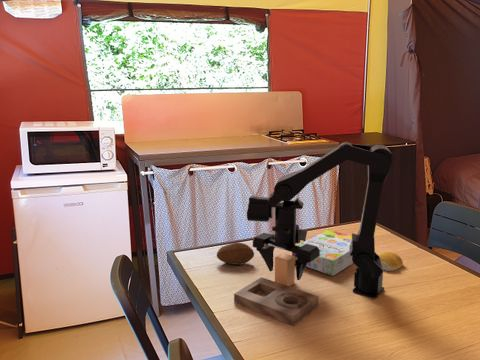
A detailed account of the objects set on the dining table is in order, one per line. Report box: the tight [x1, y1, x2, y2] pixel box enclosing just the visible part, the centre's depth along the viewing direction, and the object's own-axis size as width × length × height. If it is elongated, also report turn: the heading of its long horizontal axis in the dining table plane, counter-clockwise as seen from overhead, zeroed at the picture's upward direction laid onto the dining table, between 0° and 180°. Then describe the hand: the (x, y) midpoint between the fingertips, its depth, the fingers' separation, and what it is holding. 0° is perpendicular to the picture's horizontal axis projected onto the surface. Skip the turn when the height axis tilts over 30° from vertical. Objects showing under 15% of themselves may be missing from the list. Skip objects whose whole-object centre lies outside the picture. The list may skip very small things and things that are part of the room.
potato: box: [216, 241, 255, 265], centre depth 139 cm, size 7×12×7 cm, turn 95°
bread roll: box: [377, 251, 404, 272], centre depth 138 cm, size 8×9×4 cm
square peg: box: [274, 252, 296, 287], centre depth 126 cm, size 4×4×8 cm
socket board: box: [233, 276, 320, 327], centre depth 116 cm, size 18×12×2 cm, turn 51°
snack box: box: [291, 229, 354, 277], centre depth 142 cm, size 21×6×15 cm
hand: (284, 275), depth 126 cm, fingers open, 9 cm apart
